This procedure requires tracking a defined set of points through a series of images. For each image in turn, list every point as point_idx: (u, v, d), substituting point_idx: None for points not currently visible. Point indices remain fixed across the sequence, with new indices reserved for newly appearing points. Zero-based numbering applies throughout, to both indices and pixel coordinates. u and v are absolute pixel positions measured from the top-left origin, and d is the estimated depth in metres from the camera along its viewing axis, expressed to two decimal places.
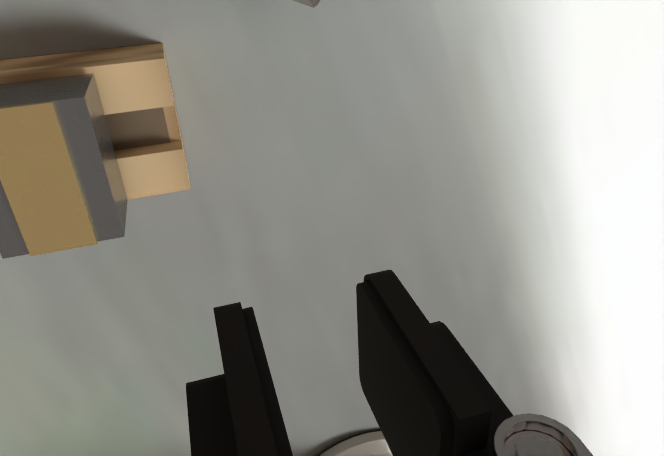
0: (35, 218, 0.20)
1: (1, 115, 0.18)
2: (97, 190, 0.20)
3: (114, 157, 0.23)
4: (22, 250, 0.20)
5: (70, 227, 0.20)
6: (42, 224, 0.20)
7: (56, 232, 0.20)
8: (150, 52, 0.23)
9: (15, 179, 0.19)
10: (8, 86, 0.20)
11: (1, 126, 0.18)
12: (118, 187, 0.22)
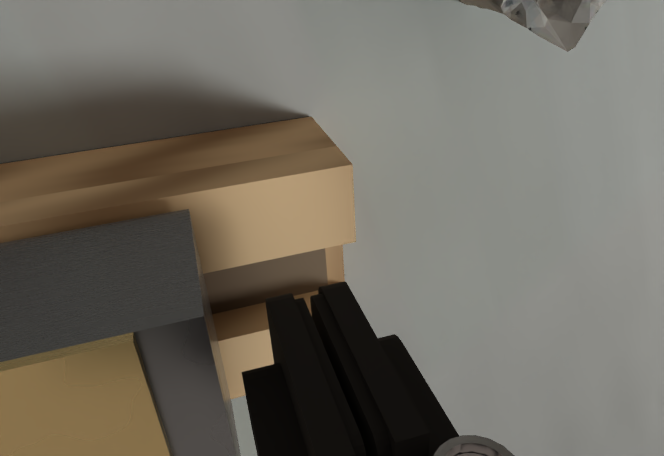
0: None
1: (11, 382, 0.07)
2: None
3: (219, 352, 0.12)
4: None
5: None
6: None
7: None
8: (309, 143, 0.13)
9: None
10: (23, 253, 0.10)
11: (11, 402, 0.07)
12: (232, 418, 0.12)
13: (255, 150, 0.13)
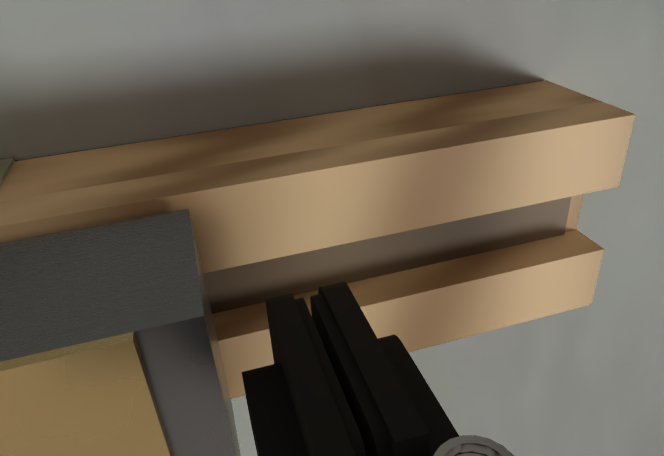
0: None
1: (11, 382, 0.07)
2: None
3: (219, 352, 0.12)
4: None
5: None
6: None
7: None
8: (573, 100, 0.15)
9: None
10: (23, 253, 0.10)
11: (11, 402, 0.07)
12: (232, 417, 0.12)
13: (528, 105, 0.15)
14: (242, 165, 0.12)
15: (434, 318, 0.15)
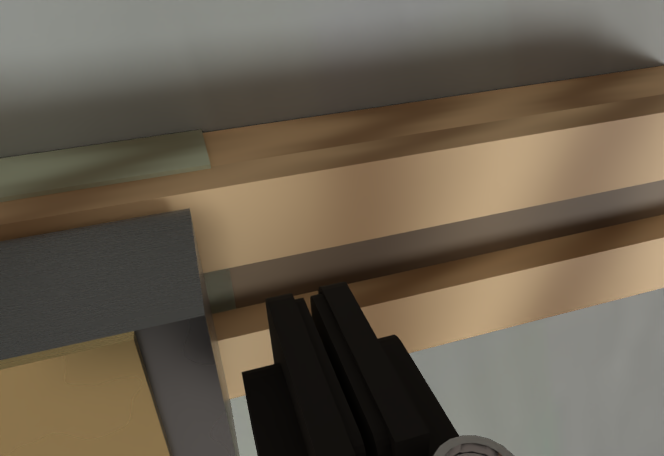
0: None
1: (11, 381, 0.07)
2: None
3: (219, 352, 0.12)
4: None
5: None
6: None
7: None
8: None
9: None
10: (23, 252, 0.10)
11: (11, 401, 0.07)
12: (231, 417, 0.12)
13: None
14: (427, 136, 0.13)
15: (575, 284, 0.16)
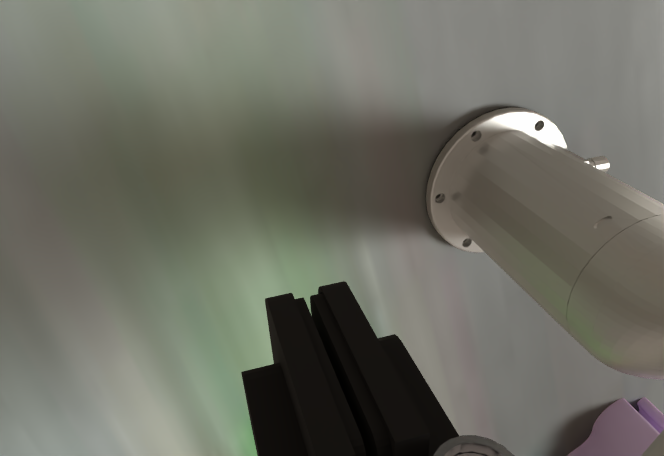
0: None
1: None
2: None
3: None
4: None
5: None
6: None
7: None
8: None
9: None
10: None
11: None
12: None
13: None
14: None
15: None
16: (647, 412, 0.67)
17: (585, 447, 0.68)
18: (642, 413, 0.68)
